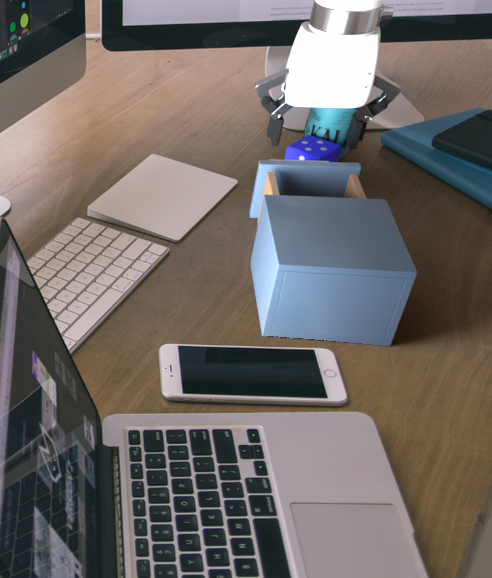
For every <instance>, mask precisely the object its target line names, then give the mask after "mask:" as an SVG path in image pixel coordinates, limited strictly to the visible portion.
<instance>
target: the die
mask: <svg viewBox="0 0 492 578" xmlns="http://www.w3.org/2000/svg"><path fill="white" fill-rule="evenodd" d="M302 137H303V138H302ZM302 137H301V138H299V139H298V140H296V141H294V142H292V143H291V144H289V145H288V146H287V147H286V152H285V154H284V155H285V156H284V160H310V161H329V162H338V160H339V158H340V157H339V153H340V149H341V146H340V145H338V144H335V143H332V142H329V141H326V140H323V139H320V138H317V137H314V136H311V135H306V136H305V137H304V136H302ZM338 157H339V158H338Z"/></svg>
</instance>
